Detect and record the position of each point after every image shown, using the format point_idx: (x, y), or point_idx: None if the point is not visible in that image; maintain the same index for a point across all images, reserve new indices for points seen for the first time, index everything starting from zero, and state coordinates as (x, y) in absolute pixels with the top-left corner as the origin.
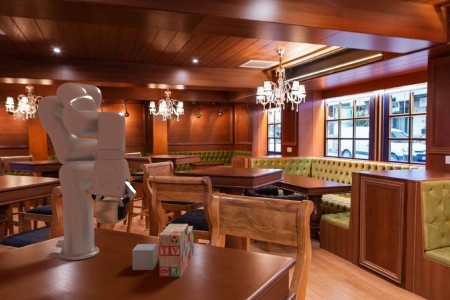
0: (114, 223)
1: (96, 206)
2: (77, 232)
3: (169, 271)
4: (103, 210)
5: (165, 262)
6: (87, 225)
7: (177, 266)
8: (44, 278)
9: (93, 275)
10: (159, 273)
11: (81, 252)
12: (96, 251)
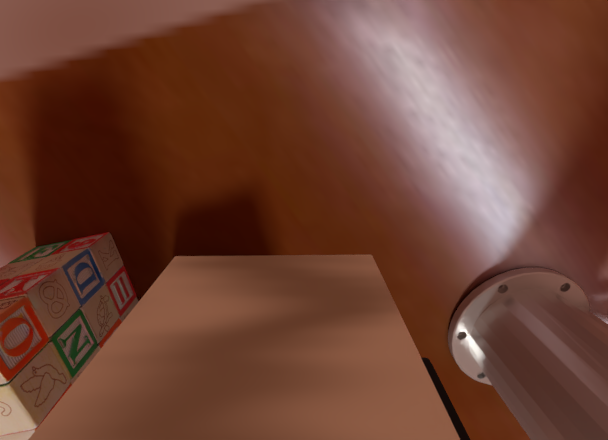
0: (173, 260)
1: (412, 365)
2: (572, 362)
3: (60, 246)
4: (285, 330)
5: (52, 259)
6: (555, 418)
7: (16, 262)
8: (516, 101)
9: (348, 176)
10: (103, 236)
11: (496, 309)
12: (454, 344)
